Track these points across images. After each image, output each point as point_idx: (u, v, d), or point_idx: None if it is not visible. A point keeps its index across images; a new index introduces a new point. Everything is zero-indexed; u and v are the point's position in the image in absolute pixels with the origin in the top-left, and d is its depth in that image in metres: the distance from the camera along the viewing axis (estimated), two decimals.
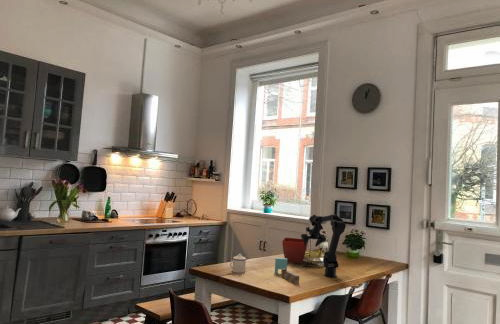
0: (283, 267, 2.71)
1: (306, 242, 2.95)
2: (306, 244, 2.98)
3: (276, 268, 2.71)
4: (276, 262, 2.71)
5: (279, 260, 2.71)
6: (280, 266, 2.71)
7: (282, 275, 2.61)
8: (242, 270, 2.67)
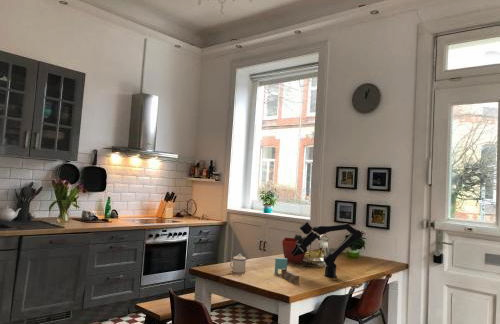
0: (283, 267, 2.71)
1: None
2: (298, 254, 2.68)
3: (276, 268, 2.71)
4: (276, 262, 2.71)
5: (279, 260, 2.71)
6: (280, 266, 2.71)
7: (282, 275, 2.61)
8: (242, 270, 2.67)
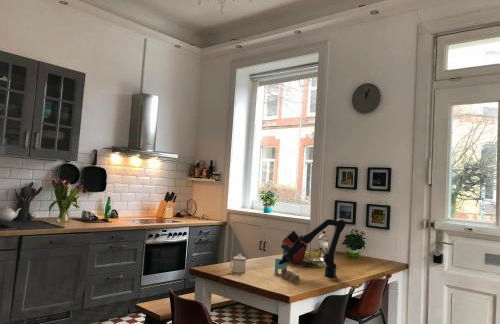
0: (283, 267, 2.71)
1: None
2: (284, 262, 2.71)
3: (276, 268, 2.71)
4: (276, 262, 2.71)
5: (279, 260, 2.71)
6: (280, 266, 2.71)
7: (282, 275, 2.61)
8: (242, 270, 2.67)
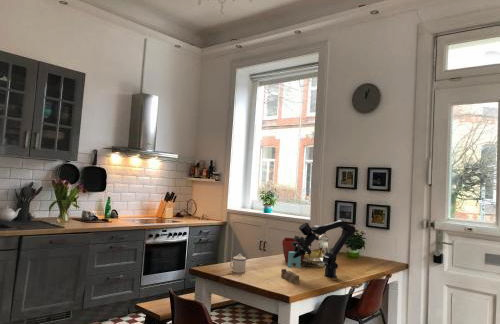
0: (297, 261, 2.62)
1: (303, 254, 2.62)
2: (298, 255, 2.62)
3: (290, 262, 2.60)
4: (291, 256, 2.60)
5: (293, 254, 2.61)
6: (294, 259, 2.61)
7: (282, 275, 2.61)
8: (242, 270, 2.67)
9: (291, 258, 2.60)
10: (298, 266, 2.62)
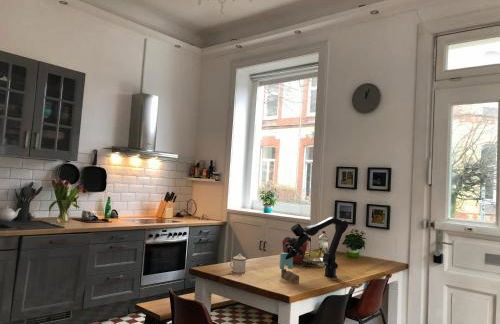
0: (289, 262, 2.60)
1: (295, 255, 2.60)
2: None
3: (282, 264, 2.58)
4: (282, 257, 2.58)
5: (285, 255, 2.59)
6: (286, 261, 2.59)
7: (282, 275, 2.61)
8: (242, 270, 2.67)
9: (283, 259, 2.58)
10: (290, 267, 2.60)
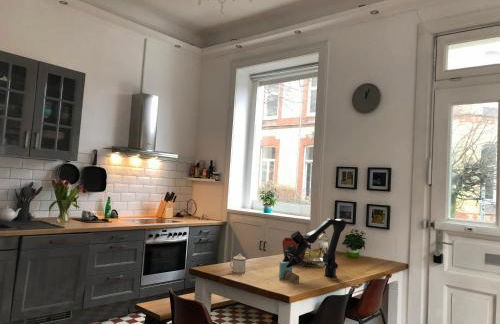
0: None
1: (297, 263, 2.57)
2: (292, 265, 2.57)
3: (282, 273, 2.58)
4: (282, 266, 2.58)
5: (285, 264, 2.59)
6: (286, 270, 2.59)
7: None
8: (242, 270, 2.67)
9: (282, 269, 2.58)
10: None
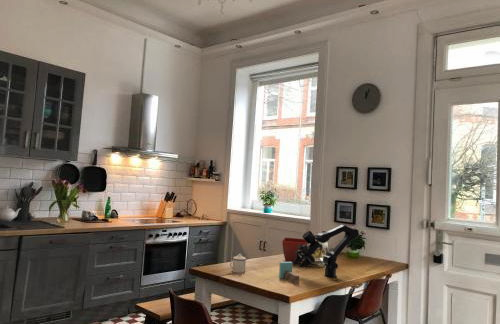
0: None
1: (309, 263, 2.59)
2: None
3: (282, 273, 2.58)
4: (282, 266, 2.58)
5: (285, 264, 2.59)
6: (286, 270, 2.59)
7: None
8: (242, 270, 2.67)
9: (282, 269, 2.58)
10: None
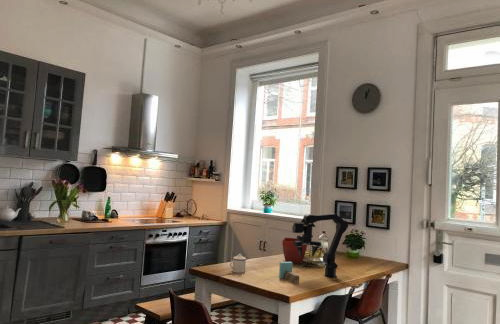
0: None
1: (300, 248, 2.64)
2: (301, 252, 2.65)
3: (282, 273, 2.58)
4: (282, 266, 2.58)
5: (285, 264, 2.59)
6: (286, 270, 2.59)
7: None
8: (242, 270, 2.67)
9: (282, 269, 2.58)
10: None
